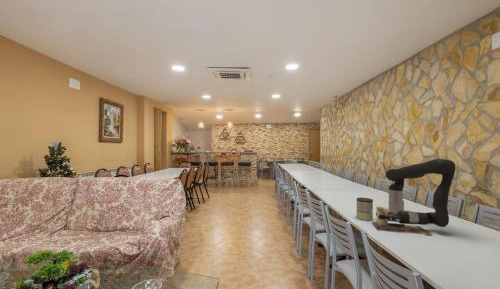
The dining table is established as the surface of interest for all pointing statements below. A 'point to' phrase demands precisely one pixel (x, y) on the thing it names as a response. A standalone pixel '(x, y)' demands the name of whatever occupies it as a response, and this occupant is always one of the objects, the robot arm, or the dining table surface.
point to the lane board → (402, 228)
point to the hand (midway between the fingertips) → (377, 215)
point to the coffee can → (365, 209)
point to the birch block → (382, 212)
